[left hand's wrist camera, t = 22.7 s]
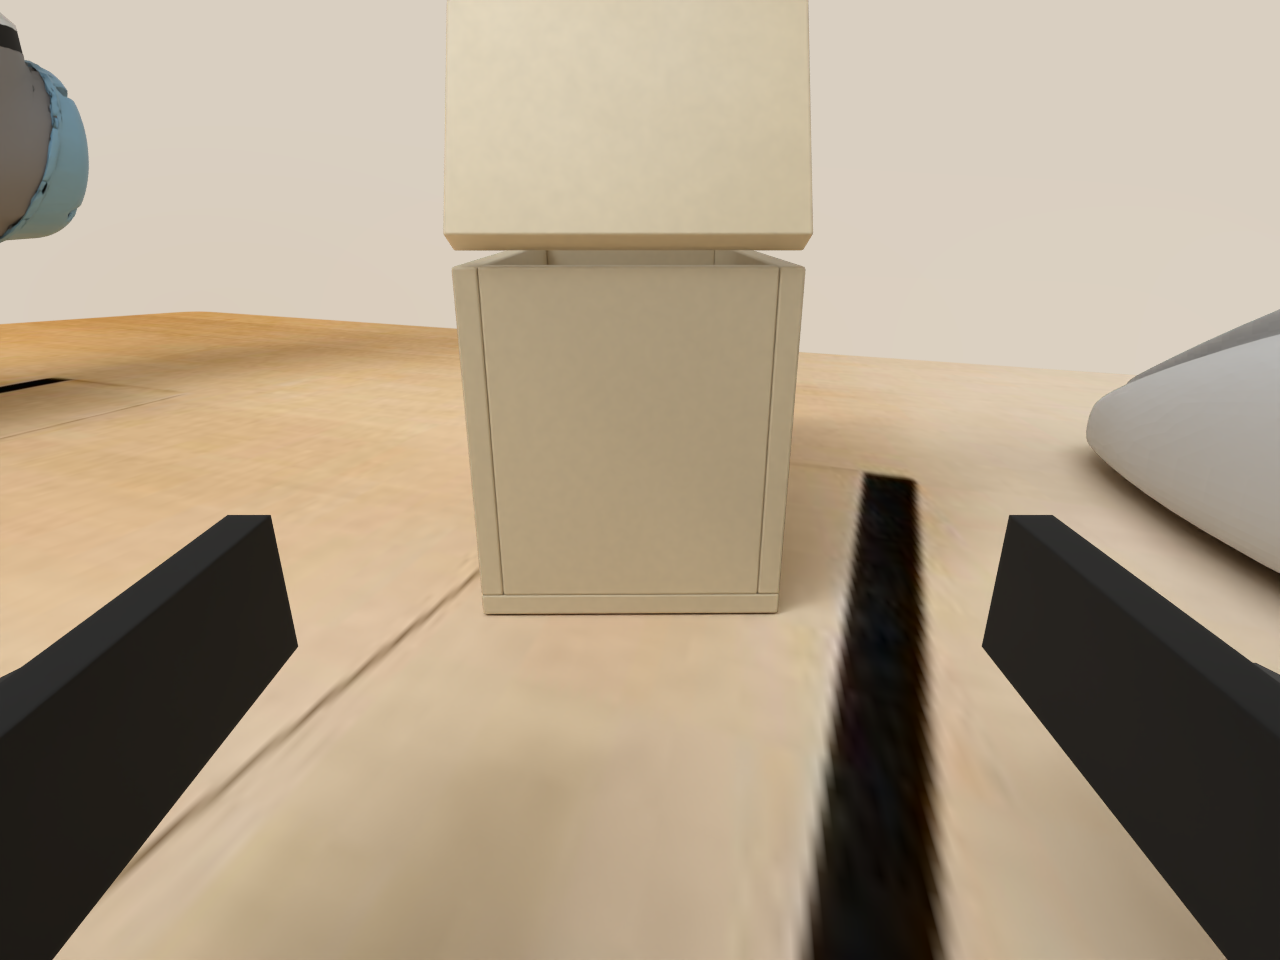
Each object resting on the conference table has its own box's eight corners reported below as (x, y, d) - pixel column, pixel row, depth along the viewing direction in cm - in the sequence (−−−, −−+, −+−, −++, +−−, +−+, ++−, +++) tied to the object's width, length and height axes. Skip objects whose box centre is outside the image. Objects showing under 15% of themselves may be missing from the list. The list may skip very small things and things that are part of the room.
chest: (544, 450, 39) (533, 241, 35) (719, 450, 39) (728, 241, 35) (483, 614, 23) (450, 266, 19) (777, 613, 23) (806, 266, 19)
